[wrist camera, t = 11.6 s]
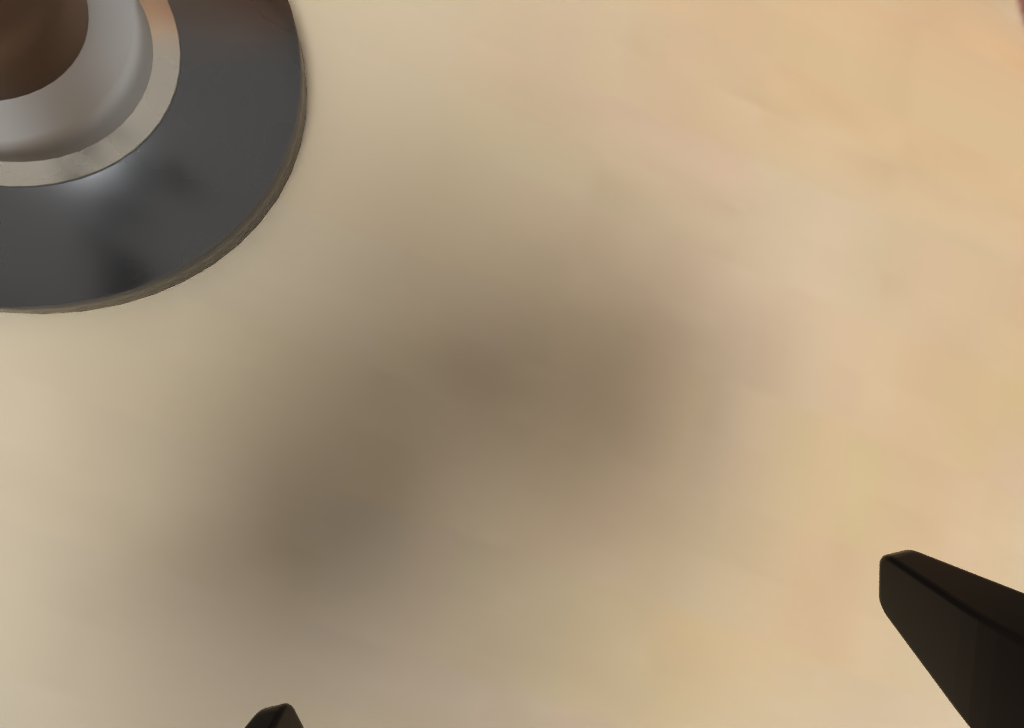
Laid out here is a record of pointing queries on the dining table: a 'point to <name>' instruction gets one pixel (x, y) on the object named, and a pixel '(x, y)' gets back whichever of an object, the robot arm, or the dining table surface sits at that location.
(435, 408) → the dining table surface
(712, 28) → the dining table surface
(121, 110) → the wooden peg on stand
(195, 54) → the base plate
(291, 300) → the dining table surface
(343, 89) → the dining table surface
